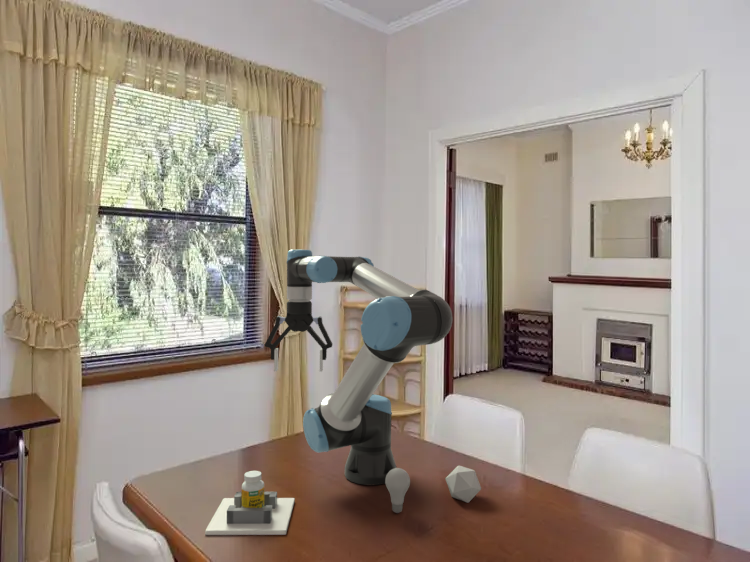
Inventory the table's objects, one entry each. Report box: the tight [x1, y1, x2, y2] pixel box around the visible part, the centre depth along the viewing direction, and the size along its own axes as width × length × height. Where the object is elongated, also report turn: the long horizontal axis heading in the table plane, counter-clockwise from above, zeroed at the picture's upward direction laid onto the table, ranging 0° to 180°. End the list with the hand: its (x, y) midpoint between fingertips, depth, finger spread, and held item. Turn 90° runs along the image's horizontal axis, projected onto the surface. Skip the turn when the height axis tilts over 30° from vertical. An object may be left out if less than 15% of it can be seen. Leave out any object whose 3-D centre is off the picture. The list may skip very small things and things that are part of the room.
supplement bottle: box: [241, 470, 265, 508], centre depth 123 cm, size 5×5×10 cm
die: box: [445, 465, 482, 503], centre depth 135 cm, size 8×9×10 cm
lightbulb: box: [385, 467, 411, 514], centre depth 127 cm, size 6×6×11 cm
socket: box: [204, 491, 295, 536], centre depth 123 cm, size 18×16×4 cm
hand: (298, 370), depth 156 cm, fingers open, 13 cm apart
